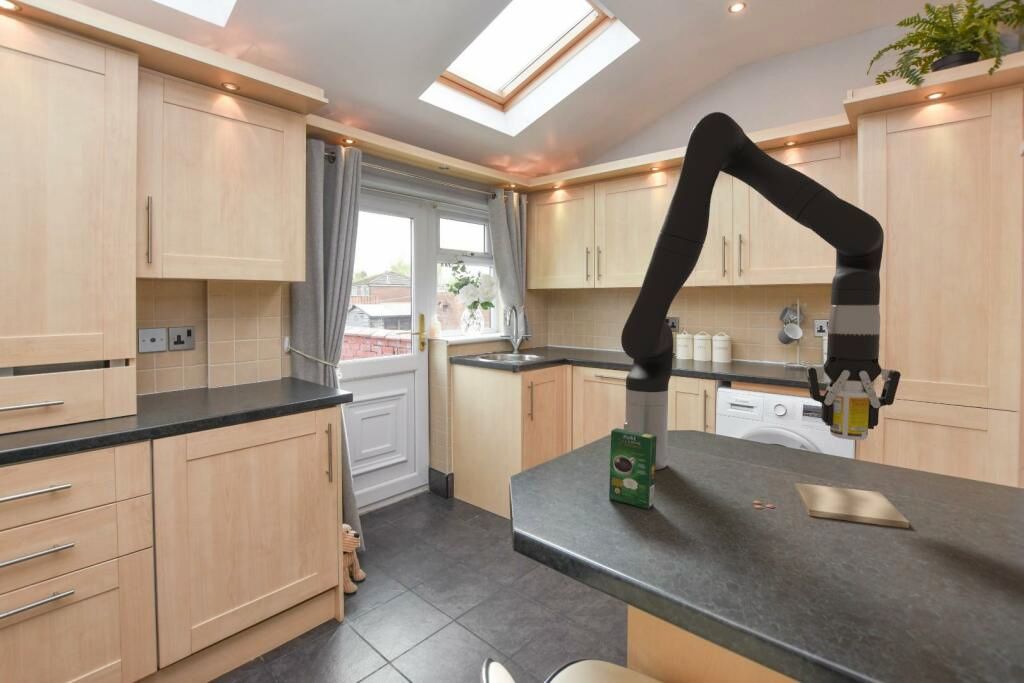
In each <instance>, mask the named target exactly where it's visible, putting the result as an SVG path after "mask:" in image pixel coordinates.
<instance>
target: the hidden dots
mask: <svg viewBox="0 0 1024 683" xmlns="http://www.w3.org/2000/svg"><path fill="white" fill-rule="evenodd" d="M752 503H754V504H755V505H753V507H754V508H755V509H759V510H762V509H764V507H763V506H762V505H761V504H762V501H759V500H753V501H752ZM765 507H766V508H769V509H774V508H776V506H775V505H773V504H765Z"/></svg>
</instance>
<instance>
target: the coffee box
mask: <svg viewBox="0 0 1024 683" xmlns="http://www.w3.org/2000/svg"><path fill="white" fill-rule="evenodd" d="M656 441H657V435H651V434H646V433H640V432H635V431H630V430H624V428H618V427H616V428H614V429H612V430H611V431H610V453H609V454H610V455H609V456H610V457H609V487H608V488H609V489H608V490H609V491H608V492H609V493H608V499H609V500H612V501H616V502H618V503H623V504H626V505H631V506H634V507H637V508H640V509H641V508H642V509H646V510H650V509H651V508H653V506H654V505H655V504H654V503H655V486H656V485H655V480H656V470H655V465H656Z"/></svg>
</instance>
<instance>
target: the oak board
mask: <svg viewBox="0 0 1024 683" xmlns="http://www.w3.org/2000/svg"><path fill="white" fill-rule="evenodd" d="M794 490H795V491H796V494H797V496H798V497H799V499H800V501H801V503H802V504H803V507H804V509H805V511H806V513H807V514H808V516H810V517H818V518H827V519H835V520H844V521H849V522H855V523H856V522H857V523H865V524H873V525H874V524H875V525H881V526H889V527H897V528H904V529H905V528H906V529H909V528H910V521H909V520H908V519H907V518H906V517H905V516H904V515H903V514H902V513H901V512H900V511H899V510H898V509H897V508H896V507H895V506H894V505H893V504H892V503H891V502H890V501H889V500H888V499H887V498H886V497H885V496H884V495H883V494H882V493H881V492H880V491H871V490H863V489H862V490H861V489H853V488H846V487H845V488H843V487H835V486H827V485H825V486H824V485H819V484H818V485H816V484H806V483H798V482H794Z"/></svg>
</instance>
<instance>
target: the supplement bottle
mask: <svg viewBox="0 0 1024 683" xmlns="http://www.w3.org/2000/svg"><path fill="white" fill-rule="evenodd" d="M863 390H864V386H863V384H862V381H850V380H846V381H845V383H844V385H843V387H842V388H841V390H840V392H839V393H838V394H836V395H835V399H834V400H833V402H832V404H831V405H832V406H833V419H832V426H829V431H830V435H832V436H833V437H835V438H838V439H843V440H850V441H863V440H866V439H867V438H868V436H869V429H868V419H869V396H868V394H867V393H866V392H865V391H863Z"/></svg>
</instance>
